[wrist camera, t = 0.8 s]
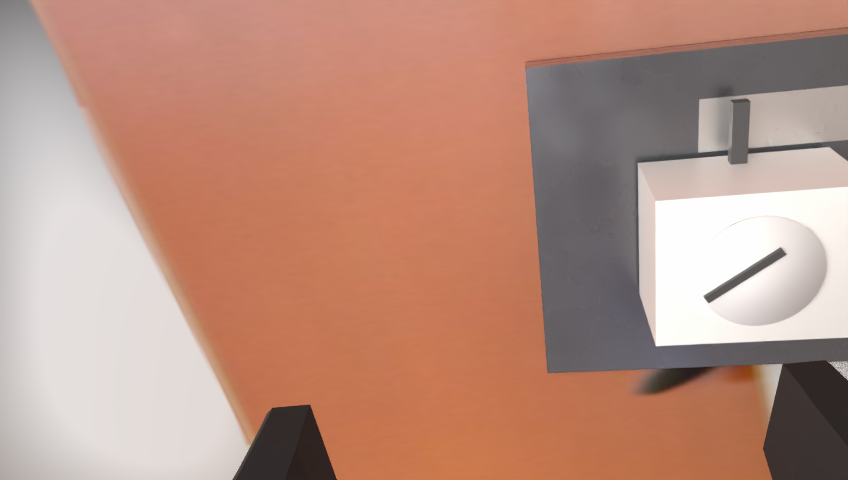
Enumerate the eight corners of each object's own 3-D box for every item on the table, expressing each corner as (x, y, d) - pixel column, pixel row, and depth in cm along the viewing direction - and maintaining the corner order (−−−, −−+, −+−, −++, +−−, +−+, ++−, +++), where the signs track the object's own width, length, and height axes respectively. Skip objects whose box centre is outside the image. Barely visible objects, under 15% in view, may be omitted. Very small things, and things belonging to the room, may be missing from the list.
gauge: (928, 277, 25) (993, 337, 22) (639, 293, 27) (657, 351, 23) (962, 73, 22) (1043, 104, 19) (637, 104, 24) (657, 138, 20)
